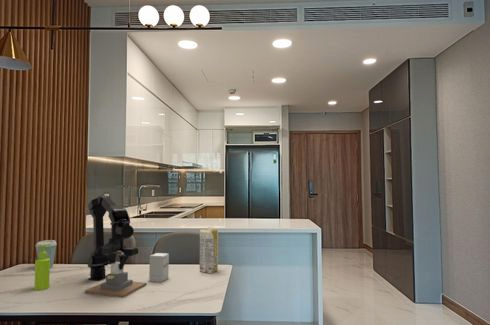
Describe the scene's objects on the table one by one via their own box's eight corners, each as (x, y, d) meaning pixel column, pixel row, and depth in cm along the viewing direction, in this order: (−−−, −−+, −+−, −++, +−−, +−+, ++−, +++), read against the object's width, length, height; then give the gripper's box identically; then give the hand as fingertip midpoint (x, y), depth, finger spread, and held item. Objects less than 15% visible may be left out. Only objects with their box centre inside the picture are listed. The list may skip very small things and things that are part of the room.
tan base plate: (84, 293, 155) (84, 277, 156) (110, 281, 173) (110, 267, 173) (123, 297, 150) (124, 280, 150) (146, 285, 167) (146, 270, 168)
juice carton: (219, 270, 194) (220, 227, 195) (210, 274, 187) (211, 228, 188) (206, 268, 199) (206, 225, 200) (197, 271, 192) (197, 227, 193)
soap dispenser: (53, 286, 165) (55, 243, 166) (41, 290, 159) (42, 246, 160) (44, 285, 167) (45, 242, 168) (31, 289, 161) (32, 245, 162)
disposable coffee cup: (49, 270, 194) (50, 243, 195) (30, 270, 194) (31, 242, 195) (59, 265, 205) (60, 239, 205) (41, 265, 205) (42, 239, 206)
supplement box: (162, 282, 172) (163, 256, 173) (148, 281, 174) (149, 255, 174) (168, 278, 180) (169, 253, 180) (155, 277, 181) (155, 252, 182)
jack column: (110, 285, 160) (110, 263, 161) (115, 283, 164) (116, 261, 164) (117, 286, 159) (118, 264, 159) (123, 284, 163) (123, 262, 163)
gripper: (88, 237, 157) (87, 272, 157) (124, 239, 152) (124, 275, 152) (104, 233, 168) (104, 266, 167) (139, 235, 163) (138, 269, 162)
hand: (117, 269), depth 162 cm, fingers closed on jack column, 4 cm apart
